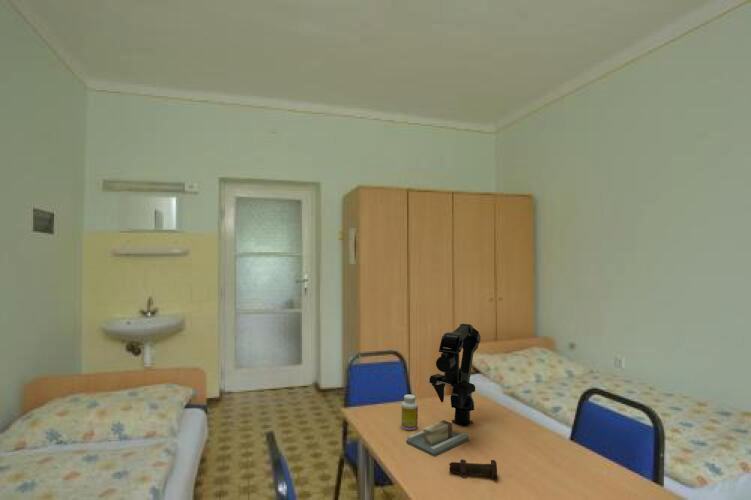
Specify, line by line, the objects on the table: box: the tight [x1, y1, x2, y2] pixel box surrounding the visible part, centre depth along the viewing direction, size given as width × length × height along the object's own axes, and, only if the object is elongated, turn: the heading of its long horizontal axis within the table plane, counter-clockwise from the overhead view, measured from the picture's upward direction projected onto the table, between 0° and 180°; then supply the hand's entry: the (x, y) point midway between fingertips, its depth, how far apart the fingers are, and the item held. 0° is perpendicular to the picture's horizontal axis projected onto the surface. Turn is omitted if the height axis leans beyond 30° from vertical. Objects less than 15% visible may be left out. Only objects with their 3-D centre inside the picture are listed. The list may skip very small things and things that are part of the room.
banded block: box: [423, 419, 453, 446], centre depth 162 cm, size 4×12×5 cm, turn 131°
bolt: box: [448, 459, 498, 481], centre depth 139 cm, size 6×5×15 cm
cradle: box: [405, 429, 470, 457], centre depth 163 cm, size 20×14×2 cm
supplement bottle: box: [400, 394, 419, 431], centre depth 175 cm, size 7×7×13 cm
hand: (451, 405), depth 168 cm, fingers open, 9 cm apart
